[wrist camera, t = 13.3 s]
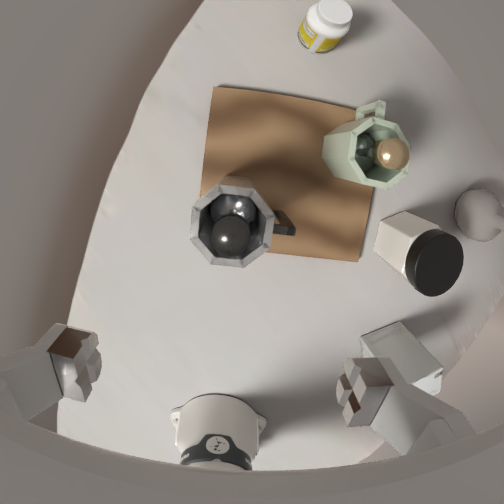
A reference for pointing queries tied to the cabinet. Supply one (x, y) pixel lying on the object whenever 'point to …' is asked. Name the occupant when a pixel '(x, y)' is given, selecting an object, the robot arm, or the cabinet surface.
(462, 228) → the potion bottle
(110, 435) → the cabinet surface
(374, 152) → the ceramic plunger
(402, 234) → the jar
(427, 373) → the skincare box
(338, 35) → the supplement bottle
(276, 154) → the serving board
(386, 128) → the pale green octagonal mug
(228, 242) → the steel plunger
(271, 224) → the steel press
